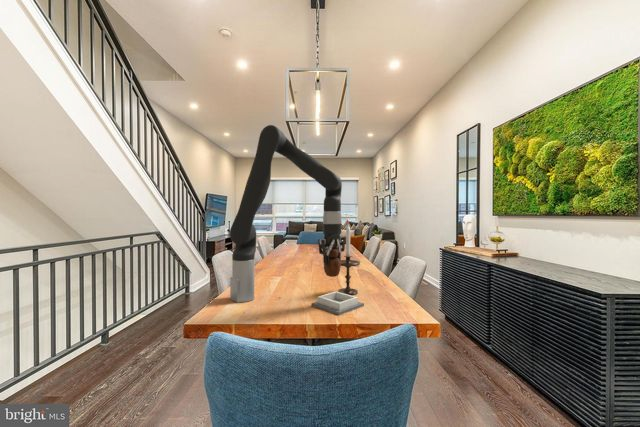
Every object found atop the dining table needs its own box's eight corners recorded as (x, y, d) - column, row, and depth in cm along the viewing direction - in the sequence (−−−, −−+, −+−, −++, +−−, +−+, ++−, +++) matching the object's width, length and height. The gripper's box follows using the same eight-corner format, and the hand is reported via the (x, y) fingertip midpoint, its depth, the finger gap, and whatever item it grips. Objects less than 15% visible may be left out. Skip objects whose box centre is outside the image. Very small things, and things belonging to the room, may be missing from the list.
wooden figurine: (342, 275, 120) (342, 239, 120) (338, 278, 115) (338, 240, 114) (326, 273, 122) (326, 238, 122) (322, 276, 117) (322, 239, 117)
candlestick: (333, 294, 132) (333, 217, 132) (340, 288, 142) (340, 217, 142) (356, 297, 128) (356, 218, 127) (362, 290, 138) (362, 217, 138)
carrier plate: (339, 315, 106) (339, 305, 106) (311, 305, 117) (311, 296, 117) (364, 305, 117) (364, 297, 117) (336, 297, 127) (336, 289, 127)
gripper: (337, 221, 126) (337, 260, 126) (313, 222, 116) (313, 264, 116) (350, 222, 121) (350, 262, 121) (326, 223, 110) (326, 267, 111)
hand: (332, 263), depth 118 cm, fingers closed on wooden figurine, 6 cm apart
